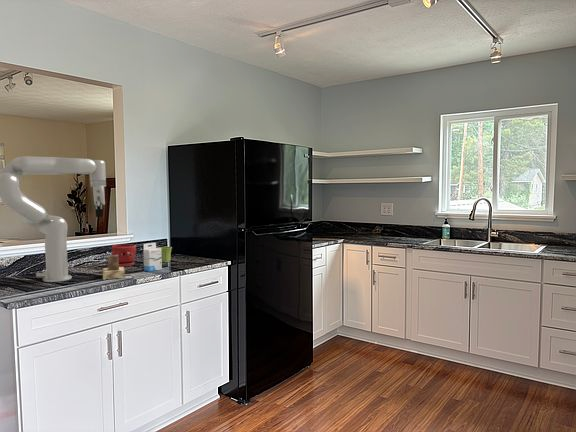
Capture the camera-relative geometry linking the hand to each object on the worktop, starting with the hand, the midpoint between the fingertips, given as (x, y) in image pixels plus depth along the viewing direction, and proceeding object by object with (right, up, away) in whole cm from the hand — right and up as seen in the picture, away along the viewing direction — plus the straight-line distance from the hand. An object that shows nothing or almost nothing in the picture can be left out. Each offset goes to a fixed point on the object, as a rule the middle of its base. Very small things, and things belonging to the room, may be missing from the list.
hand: (99, 216), depth 231 cm
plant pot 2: (+25, -28, +35) cm, 51 cm away
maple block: (+11, -31, -9) cm, 34 cm away
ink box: (+26, -30, +8) cm, 40 cm away
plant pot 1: (+5, -29, +22) cm, 37 cm away
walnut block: (+11, -27, -10) cm, 31 cm away
